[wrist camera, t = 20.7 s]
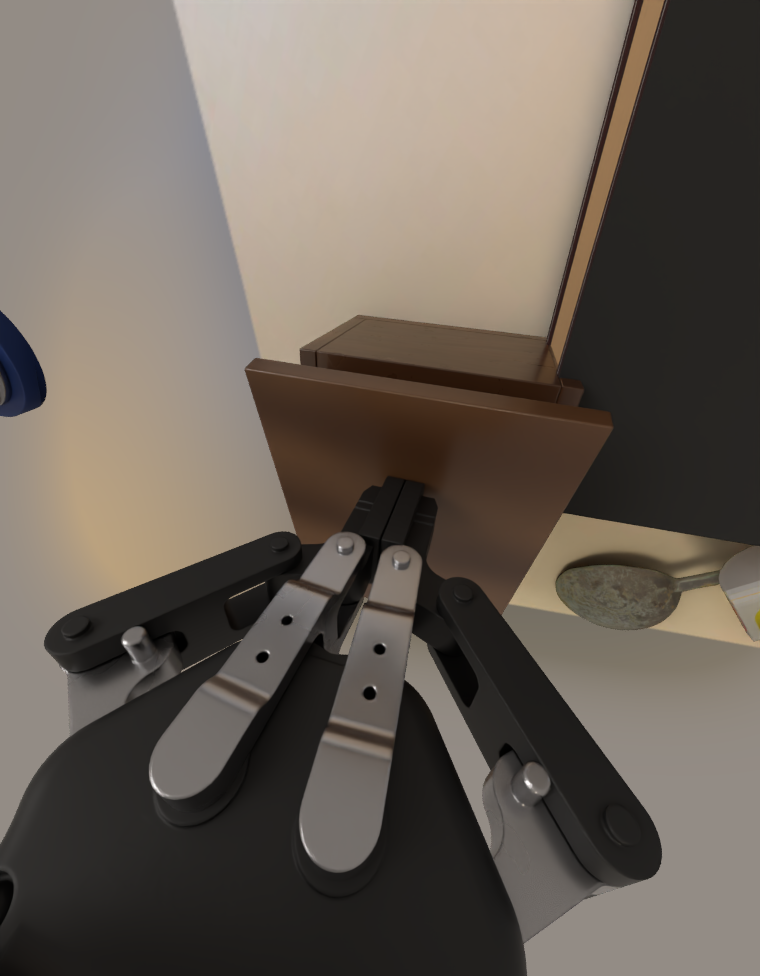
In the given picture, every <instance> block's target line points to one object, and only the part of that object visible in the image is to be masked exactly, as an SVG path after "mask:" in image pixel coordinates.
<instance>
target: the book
mask: <svg viewBox="0 0 760 976" xmlns="http://www.w3.org/2000/svg"><path fill="white" fill-rule="evenodd" d="M546 342H547V345H551V347H552V350H553V353H554V355H555V358H556V361H557V364H558V368H557V372H556V373H557V376H558V377H559V379H560V378H566V379H574V380H580V381H581V383H582V385H583V387H584V393H583V395H582V398H581V400H580V403H579V405H578V407H582V408H589V409H595V410H602V411H608V412H610V413H611V417H612V422H613V430H612V431H611V433H610V435H609V436H608V438H607V440H606V441H605V443H604V445H603V446H602V448H601V450H600V451H599V453H598V455H597V456H596V458H595V460H594V461H593V463H592V465H591V466H590V468H589V470H588V472H587V473H586V475H585V477H584V478H583V480H582V482H581V483H580V485H579V487H578V488H577V490H576V492H575V493H574V495H573V497H572V498H571V500H570V502H569V503H568V505H567V507H566V508H565V510H564V512H563V513H567V514H573V515H579V516H584V517H590V518H596V519H602V520H608V521H614V522H620V523H626V524H632V525H638V526H644V527H649V528H655V529H661V530H667V531H673V532H679V533H685V534H691V535H697V536H703V537H708V538H714V539H720V540H726V541H732V542H738V543H744V544H750V545H756V546H760V0H635V3H634V6H633V10H632V14H631V18H630V22H629V26H628V29H627V33H626V37H625V41H624V45H623V49H622V52H621V56H620V60H619V64H618V68H617V72H616V75H615V79H614V83H613V87H612V91H611V95H610V98H609V102H608V106H607V110H606V114H605V118H604V121H603V125H602V129H601V133H600V137H599V141H598V144H597V148H596V152H595V156H594V160H593V164H592V167H591V171H590V175H589V179H588V183H587V187H586V190H585V194H584V198H583V202H582V206H581V210H580V213H579V217H578V221H577V225H576V229H575V233H574V236H573V240H572V244H571V248H570V252H569V256H568V259H567V263H566V267H565V271H564V275H563V279H562V282H561V286H560V290H559V294H558V298H557V302H556V305H555V309H554V313H553V317H552V321H551V325H550V328H549V332H548V336H547V340H546Z"/></svg>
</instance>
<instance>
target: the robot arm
mask: <svg viewBox="0 0 760 976" xmlns="http://www.w3.org/2000/svg"><path fill="white" fill-rule="evenodd" d="M11 396H12V388H11V383H10V380H9V377H8V375H7V372H6V370H5V368H4V366H3V365H2V363H1V361H0V406H2V405H5V404H7V403H8V402H9V401H10V399H11ZM424 487H425V483H420V482H415V481H411V480H405V479H401V478H396V477H391V476H387V478H386V479H385V481H384V483H383V485H382V487H378V486H374V485H372V486H371V487H369V488H368V489H366V490H365V491H363V493H362V495H361V497H360V498H359V501H358V502H357V504H356V505H355V508H354V509H353V511H352V513H351V514H350V516H349V518H348V520H347V521H346V523H345V525H344V527H343V529H342V530H341V532H339V533H336V534H333V535H332V536H330V537H329V538H328V539H327V540H326V542H325V543H322V544H301V541H300V539H299V537H298V536H296V535H295V534H293V533H290V532H276V533H273V534H270V535H267V536H265V537H262V538H259V539H257V540H255V541H252V542H249V543H247V544H244V545H242V546H239V547H236V548H234V549H231V550H229V551H226V552H224V553H221V554H218V555H216V556H214V557H211V558H209V559H206V560H203V561H201V562H198V563H195V564H193V565H191V566H188V567H185V568H183V569H180V570H178V571H175V572H172V573H170V574H168V575H165V576H162V577H160V578H157V579H154V580H152V581H149V582H147V583H144V584H142V585H139V586H137V587H134V588H131V589H129V590H126V591H124V592H121V593H119V594H116V595H113V596H111V597H108V598H106V599H103V600H101V601H98V602H96V603H93V604H90V605H88V606H86V607H83V608H80V609H78V610H75V611H73V612H71V613H69V614H67V615H66V616H64V617H63V618H61V619H60V620H59V621H57V622H56V623H55V624H54V625H53V626H52V627H51V629H50V630H49V631H48V633H47V635H46V637H45V640H44V646H45V649H46V650H47V651H48V653H49V654H50V655H51V656H52V657H53V658H54V659H55V660H56V661H57V662H58V663H59V666H60V668H61V669H62V670H63V671H64V673H66V675H67V676H68V701H69V728H70V737H69V738H68V739H67V740H65V741H64V742H63V743H62V744H61V745H60V746H59V747H58V748H57V749H56V750H55V751H54V752H53V753H52V754H51V755H50V756H49V757H48V758H47V759H46V761H45V762H44V763H43V764H42V765H41V767H40V768H39V769H38V771H37V773H36V774H35V775H34V777H33V778H32V780H31V782H30V784H29V785H28V787H27V789H26V791H25V793H24V795H23V797H22V800H21V802H20V804H19V807H18V809H17V811H16V814H15V816H14V819H13V821H12V823H11V825H10V827H9V829H8V831H7V833H6V835H5V837H4V839H3V840H2V842H1V844H0V976H527V970H526V958H525V951H524V945H523V944H524V943H525V942H527V941H528V940H529V939H531V938H532V937H534V936H535V935H536V934H538V933H539V932H540V931H541V930H543V929H544V928H546V927H547V926H548V925H550V924H551V923H553V922H554V921H555V920H557V919H558V918H559V917H561V916H562V915H563V914H565V913H566V912H568V911H569V910H570V909H572V908H573V907H574V906H576V905H577V904H578V903H580V902H581V901H582V900H584V899H587V898H590V897H593V896H597V895H600V894H603V893H606V892H609V891H612V890H615V889H618V888H621V887H624V886H627V885H631V884H633V883H637V882H640V881H643V880H646V879H649V878H651V877H652V876H654V875H655V874H656V872H657V871H658V870H659V867H660V864H661V859H662V848H661V843H660V839H659V835H658V832H657V830H656V828H655V825H654V823H653V821H652V820H651V818H650V816H649V814H648V813H647V811H646V810H645V809H644V807H643V806H642V805H641V803H640V802H639V800H638V799H637V798H636V796H635V795H634V794H633V792H632V791H631V790H630V788H629V787H628V786H627V784H626V783H625V782H624V780H623V779H622V777H621V776H620V775H619V773H618V772H617V771H616V769H615V768H614V767H613V765H612V764H611V763H610V761H609V760H608V759H607V757H606V756H605V755H604V754H603V752H602V750H601V749H600V748H599V746H598V745H597V744H596V743H595V741H594V740H593V738H592V737H591V736H590V734H589V733H588V732H587V730H586V729H585V728H584V726H583V725H582V724H581V722H580V721H579V719H578V718H577V717H576V716H575V714H574V713H573V712H572V710H571V709H570V707H569V706H568V705H567V703H566V702H565V701H564V700H563V698H562V697H561V695H560V694H559V692H558V691H557V690H556V688H555V687H554V686H553V684H552V683H551V682H550V680H549V679H548V678H547V676H546V675H545V674H544V672H543V671H542V670H541V668H540V667H539V666H538V664H537V663H536V662H535V660H534V659H533V658H532V656H531V655H530V653H529V652H528V651H527V650H526V648H525V647H524V645H523V644H522V643H521V641H520V640H519V639H518V637H517V636H516V635H515V633H514V632H513V631H512V629H511V628H510V626H509V625H508V624H507V622H506V621H505V620H504V618H503V617H502V616H501V614H500V613H499V612H498V610H497V609H496V608H495V606H494V605H493V604H492V602H491V601H490V599H489V598H488V597H487V595H486V594H485V593H484V591H483V590H482V589H481V588H480V586H479V585H477V584H476V583H475V582H473V581H472V580H470V579H467V578H463V577H452V578H449V579H447V580H446V579H444V578H442V577H440V576H439V575H437V574H436V573H434V572H433V571H432V570H431V569H430V567H429V566H428V564H427V561H426V560H427V556H428V553H429V549H430V545H431V541H432V537H433V532H434V527H435V521H436V516H437V511H438V506H437V503H436V501H435V499H434V498H430V497H425V496H423V494H424ZM263 582H265V583H264V584H262V585H260V586H257V587H255V588H253V589H251V590H249V591H247V592H244V593H242V594H240V595H238V596H236V597H233V598H231V599H229V598H230V597H232V596H234V595H236V594H238V593H241V592H243V591H245V590H247V589H249V588H252V587H254V586H256V585H258V584H260V583H263ZM368 584H372V587H371V591H370V594H369V597H368V601H367V603H364V605H363V608H362V611H361V614H360V617H359V621H358V624H357V627H356V631H355V634H354V637H353V641H352V644H351V648H350V651H349V654H348V655H341V654H339V651H340V648H341V645H342V643H343V641H344V639H345V637H346V635H347V633H348V631H349V629H350V627H351V625H352V623H353V621H354V619H355V617H356V615H357V613H358V611H359V609H360V607H361V605H362V603H363V600H364V594H365V592H366V589H367V587H368ZM228 599H229V600H228ZM412 633H413V634H414V635H416V636H417V637H419V638H420V639H422V640H423V641H425V642H426V643H427V646H428V650H429V652H430V654H431V656H432V658H433V660H434V662H435V664H436V666H437V668H438V670H439V671H440V673H441V675H442V677H443V679H444V681H445V683H446V685H447V687H448V689H449V691H450V693H451V694H452V697H453V698H454V700H455V702H456V704H457V706H458V708H459V710H460V712H461V714H462V716H463V718H464V720H465V722H466V724H467V725H468V727H469V729H470V731H471V733H472V735H473V737H474V739H475V741H476V743H477V745H478V747H479V749H480V751H481V752H482V754H483V756H484V758H485V760H486V762H487V764H488V766H489V768H490V770H491V771H490V773H489V774H488V776H487V777H486V779H485V782H484V785H483V794H482V796H483V804H484V808H485V811H486V814H487V817H488V820H489V823H490V828H491V849H490V850H489V848H488V845H487V843H486V841H485V838H484V836H483V833H482V831H481V829H480V826H479V824H478V822H477V819H476V817H475V815H474V812H473V810H472V807H471V805H470V803H469V801H468V798H467V796H466V793H465V791H464V789H463V786H462V784H461V782H460V779H459V777H458V774H457V772H456V770H455V767H454V765H453V762H452V760H451V758H450V755H449V753H448V751H447V748H446V746H445V744H444V741H443V739H442V736H441V734H440V732H439V730H438V727H437V725H436V722H435V720H434V718H433V715H432V713H431V711H430V709H429V707H428V706H427V704H426V702H425V701H424V700H423V698H422V697H421V695H420V694H419V693H418V692H417V691H416V690H415V689H414V687H412V686H411V685H410V684H409V683H408V682H407V681H405V680H404V678H405V672H406V666H407V659H408V653H409V647H410V640H411V634H412ZM241 639H243V640H242V641H239V640H241ZM237 641H239V642H237ZM235 642H237V643H235ZM233 643H235V644H233ZM231 644H232V645H231ZM230 645H231V646H230ZM228 646H229V647H228ZM226 647H227V648H226ZM224 648H225V649H224ZM222 649H223V650H222ZM220 650H221V651H220ZM218 651H220V652H218ZM216 652H218V653H216ZM214 653H216V654H214ZM212 654H214V655H212ZM210 655H212V656H211V657H209V658H207V659H205V660H204V661H202V662H200V663H198V664H196V665H194V666H193V667H191V668H189V669H187V670H185V671H183V672H182V673H181V670H183V669H185V668H187V667H189V666H191V665H193V664H195V663H197V662H199V661H201V660H203V659H204V658H206V657H208V656H210Z"/></svg>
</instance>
